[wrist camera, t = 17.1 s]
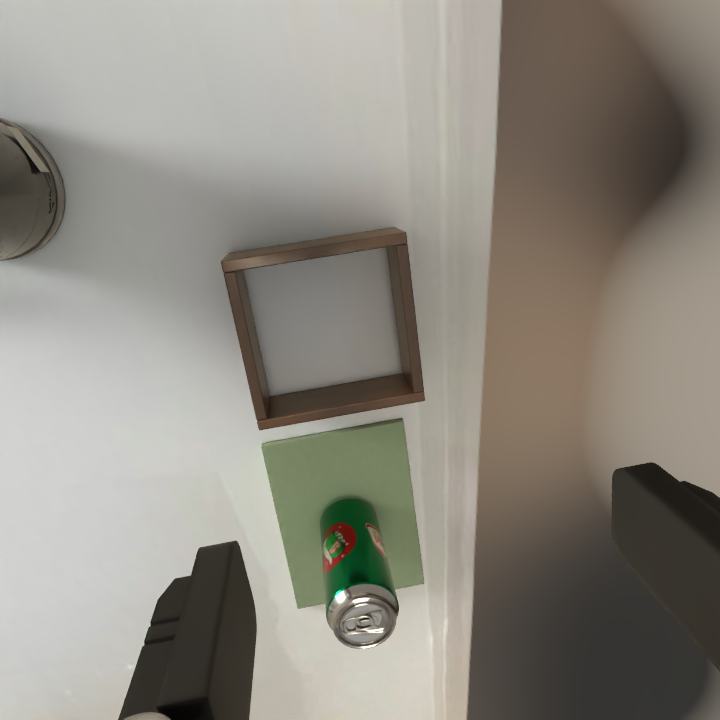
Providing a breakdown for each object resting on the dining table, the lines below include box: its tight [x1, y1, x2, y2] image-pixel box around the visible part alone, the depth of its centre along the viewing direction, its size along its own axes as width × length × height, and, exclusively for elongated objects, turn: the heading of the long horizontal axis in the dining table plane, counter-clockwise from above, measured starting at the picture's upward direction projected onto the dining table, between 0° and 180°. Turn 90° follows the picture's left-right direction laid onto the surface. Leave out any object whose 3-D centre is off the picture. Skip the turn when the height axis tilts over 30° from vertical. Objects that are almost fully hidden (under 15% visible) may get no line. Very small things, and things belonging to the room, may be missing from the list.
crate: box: [221, 227, 425, 430], centre depth 40 cm, size 13×13×4 cm
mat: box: [262, 418, 424, 609], centre depth 48 cm, size 12×17×1 cm
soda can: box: [320, 498, 399, 649], centre depth 42 cm, size 5×5×12 cm
